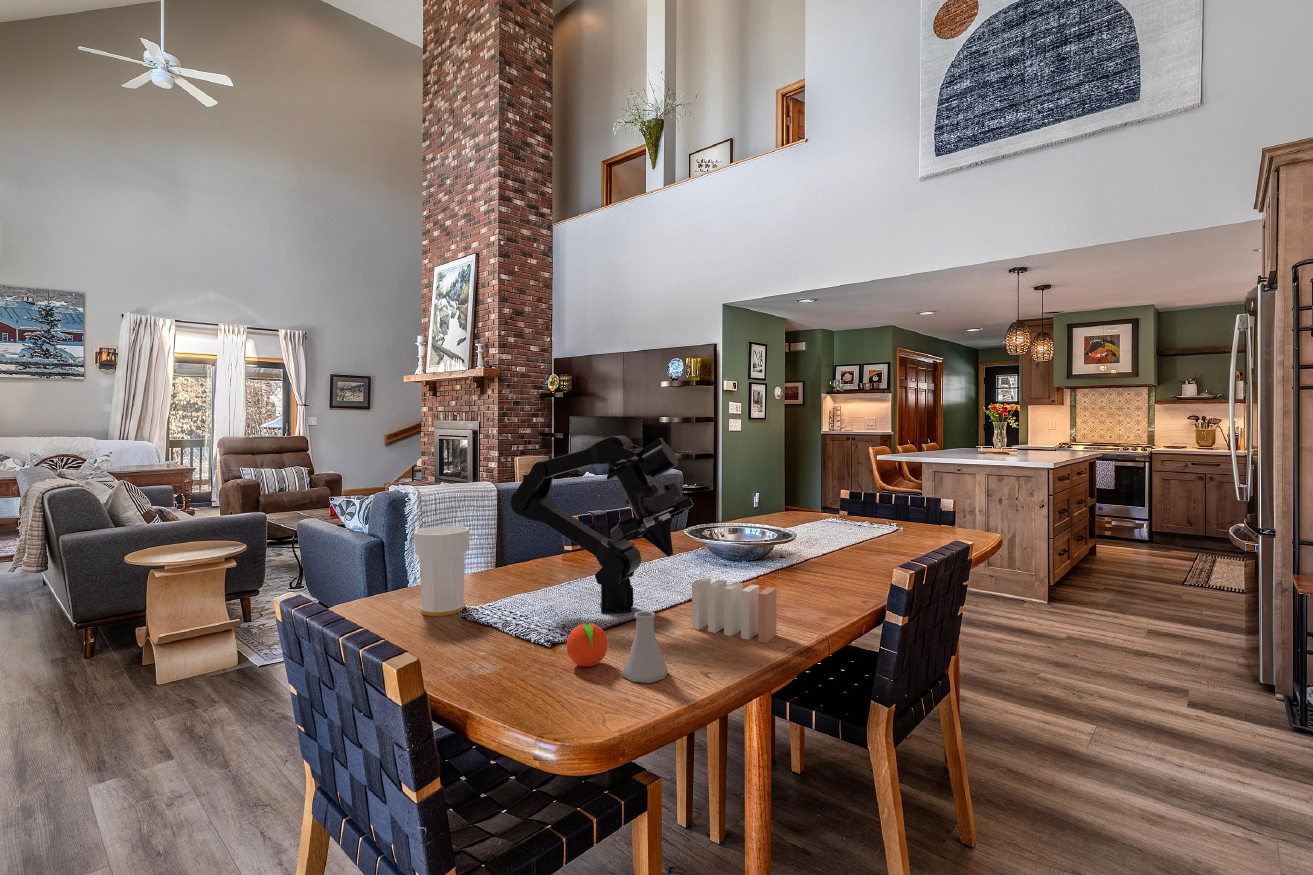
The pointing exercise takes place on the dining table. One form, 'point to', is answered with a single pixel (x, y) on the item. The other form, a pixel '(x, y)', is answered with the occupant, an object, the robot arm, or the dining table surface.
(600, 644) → the clementine
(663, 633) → the dining table surface
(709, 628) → the domino
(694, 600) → the domino
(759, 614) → the domino
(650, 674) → the flask
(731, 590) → the domino
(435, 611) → the cup
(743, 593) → the domino
